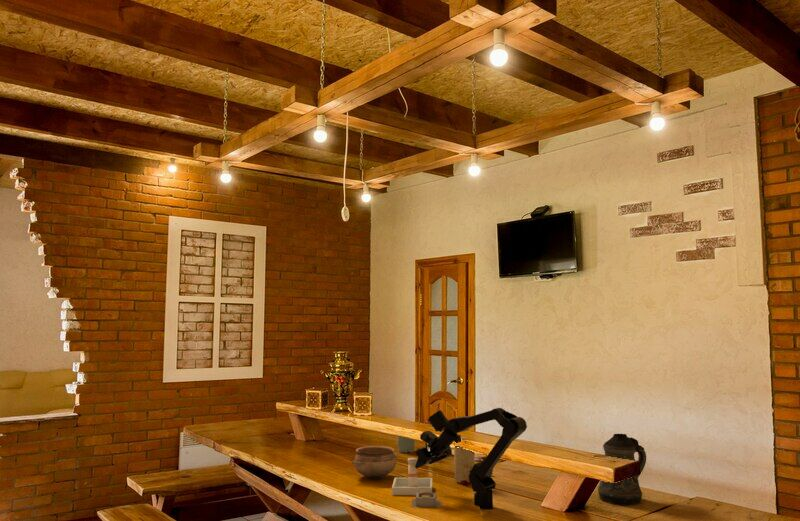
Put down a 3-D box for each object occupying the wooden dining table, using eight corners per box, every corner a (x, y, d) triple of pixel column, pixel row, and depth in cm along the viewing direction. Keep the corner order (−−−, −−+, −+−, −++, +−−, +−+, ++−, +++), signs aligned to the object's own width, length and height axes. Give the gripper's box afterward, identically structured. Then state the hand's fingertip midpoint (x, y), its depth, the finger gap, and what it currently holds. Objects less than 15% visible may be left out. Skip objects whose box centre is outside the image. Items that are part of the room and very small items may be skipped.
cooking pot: (365, 486, 266) (365, 457, 267) (340, 478, 280) (340, 450, 281) (409, 477, 282) (409, 449, 283) (383, 469, 296) (383, 443, 297)
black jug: (590, 499, 245) (588, 434, 248) (613, 490, 259) (611, 428, 261) (630, 508, 234) (628, 440, 236) (653, 498, 247) (650, 433, 250)
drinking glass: (394, 450, 339) (394, 428, 340) (410, 448, 343) (410, 426, 344) (402, 454, 330) (402, 431, 331) (419, 452, 334) (419, 429, 335)
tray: (432, 487, 264) (432, 477, 265) (431, 497, 248) (431, 488, 249) (394, 486, 265) (394, 477, 266) (391, 497, 249) (391, 487, 250)
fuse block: (440, 502, 242) (440, 490, 242) (440, 510, 232) (440, 497, 233) (412, 501, 243) (412, 489, 243) (411, 509, 233) (411, 496, 233)
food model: (451, 483, 270) (450, 436, 272) (458, 480, 276) (458, 434, 278) (471, 486, 265) (470, 438, 267) (478, 483, 270) (477, 436, 272)
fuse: (419, 489, 257) (419, 458, 259) (413, 491, 254) (413, 460, 255) (411, 488, 260) (411, 457, 261) (405, 490, 256) (405, 459, 258)
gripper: (445, 421, 261) (424, 446, 266) (419, 428, 246) (397, 453, 251) (461, 443, 255) (439, 467, 260) (435, 450, 240) (413, 476, 246)
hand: (422, 465), depth 255 cm, fingers open, 9 cm apart
